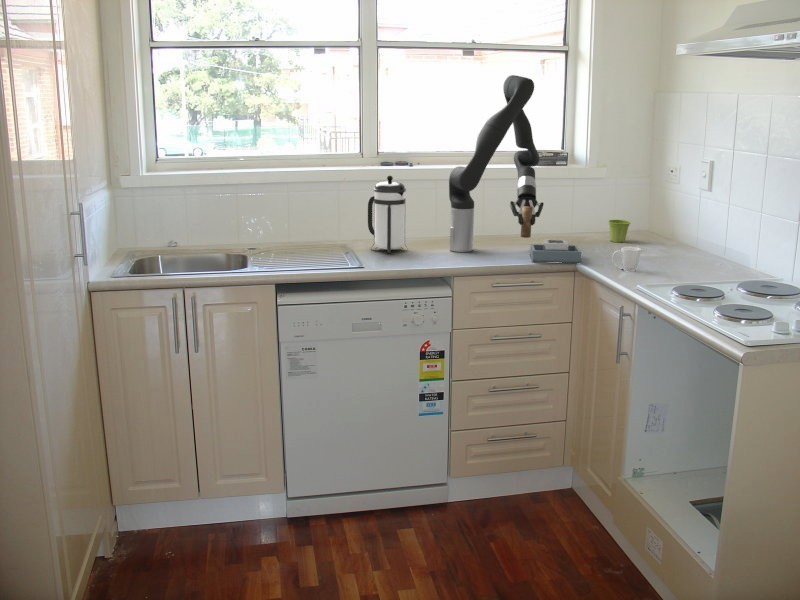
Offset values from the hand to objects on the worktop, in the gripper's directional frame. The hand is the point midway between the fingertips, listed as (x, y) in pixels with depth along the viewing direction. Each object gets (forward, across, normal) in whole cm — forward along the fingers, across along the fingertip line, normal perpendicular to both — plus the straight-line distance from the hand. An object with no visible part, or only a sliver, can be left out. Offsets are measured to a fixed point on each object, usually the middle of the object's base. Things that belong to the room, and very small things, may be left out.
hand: (526, 223), depth 316 cm
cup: (+28, +34, -12) cm, 46 cm away
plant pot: (-11, +42, +26) cm, 51 cm away
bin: (+18, +10, -2) cm, 20 cm away
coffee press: (+11, -56, +6) cm, 57 cm away
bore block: (+18, +10, -2) cm, 20 cm away
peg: (+3, 0, +5) cm, 6 cm away
